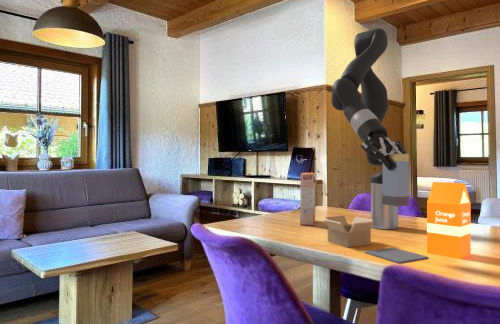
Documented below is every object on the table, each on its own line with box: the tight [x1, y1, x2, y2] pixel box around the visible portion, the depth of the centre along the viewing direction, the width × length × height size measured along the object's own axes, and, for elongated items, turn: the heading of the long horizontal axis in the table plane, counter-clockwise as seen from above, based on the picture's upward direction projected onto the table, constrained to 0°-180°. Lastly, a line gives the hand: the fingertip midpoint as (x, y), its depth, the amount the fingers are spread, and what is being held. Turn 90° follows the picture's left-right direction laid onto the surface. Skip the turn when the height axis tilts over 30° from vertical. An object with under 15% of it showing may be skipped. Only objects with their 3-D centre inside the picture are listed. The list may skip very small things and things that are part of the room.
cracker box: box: [299, 172, 317, 227], centre depth 156 cm, size 14×6×21 cm, turn 168°
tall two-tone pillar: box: [382, 153, 410, 207], centre depth 103 cm, size 4×5×14 cm
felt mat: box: [364, 247, 429, 264], centre depth 103 cm, size 11×12×1 cm
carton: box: [323, 215, 374, 248], centre depth 119 cm, size 14×14×8 cm
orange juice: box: [426, 181, 472, 260], centre depth 105 cm, size 8×9×20 cm
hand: (399, 168), depth 102 cm, fingers closed on tall two-tone pillar, 4 cm apart
